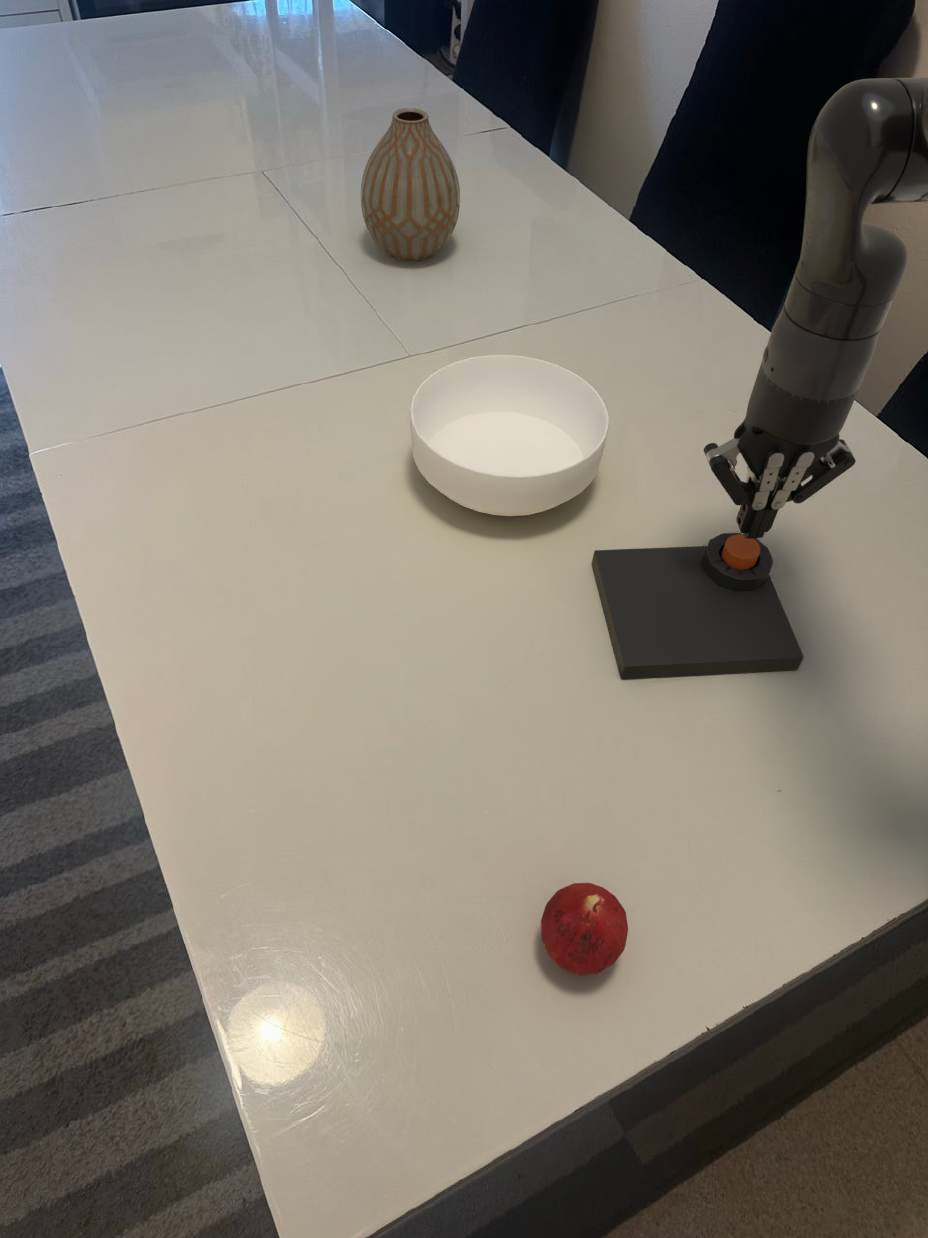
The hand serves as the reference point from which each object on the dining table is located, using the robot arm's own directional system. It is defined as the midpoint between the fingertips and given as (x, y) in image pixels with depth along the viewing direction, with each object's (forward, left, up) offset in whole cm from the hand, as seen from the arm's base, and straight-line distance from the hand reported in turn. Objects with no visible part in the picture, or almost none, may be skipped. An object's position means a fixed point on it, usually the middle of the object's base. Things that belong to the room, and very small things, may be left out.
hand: (750, 531), depth 83 cm
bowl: (+20, -16, -7) cm, 27 cm away
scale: (+5, +4, -7) cm, 9 cm away
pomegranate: (+21, +34, -7) cm, 41 cm away
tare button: (0, 0, -4) cm, 3 cm away
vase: (+27, -64, -7) cm, 70 cm away
